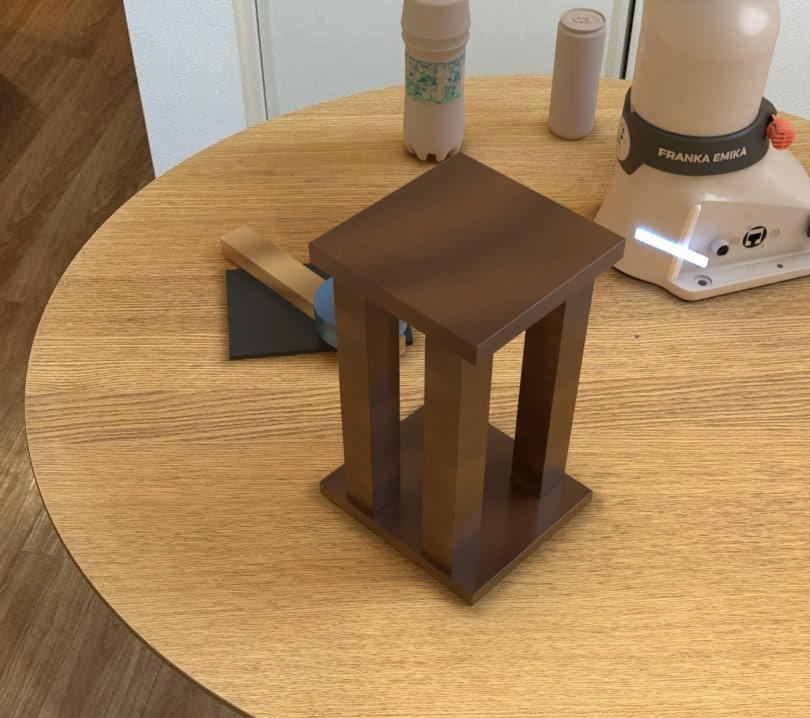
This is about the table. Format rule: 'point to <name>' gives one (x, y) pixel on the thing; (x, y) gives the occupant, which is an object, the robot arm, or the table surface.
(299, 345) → the mat
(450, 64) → the bottle
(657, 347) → the table surface
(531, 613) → the table surface
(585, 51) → the beverage can
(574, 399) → the stand
